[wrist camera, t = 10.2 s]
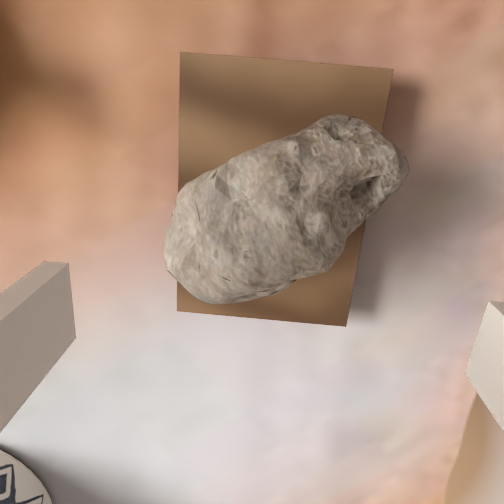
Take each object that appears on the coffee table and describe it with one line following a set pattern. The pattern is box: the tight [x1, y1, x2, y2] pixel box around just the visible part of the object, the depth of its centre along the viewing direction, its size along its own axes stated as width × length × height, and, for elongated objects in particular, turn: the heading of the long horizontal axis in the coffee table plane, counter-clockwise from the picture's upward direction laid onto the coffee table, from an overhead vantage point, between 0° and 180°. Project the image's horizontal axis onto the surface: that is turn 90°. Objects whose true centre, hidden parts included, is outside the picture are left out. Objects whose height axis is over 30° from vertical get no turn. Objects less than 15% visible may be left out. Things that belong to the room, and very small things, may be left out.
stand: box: [177, 52, 394, 327], centre depth 29 cm, size 18×13×3 cm
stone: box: [163, 114, 409, 304], centre depth 23 cm, size 9×14×10 cm, turn 111°
